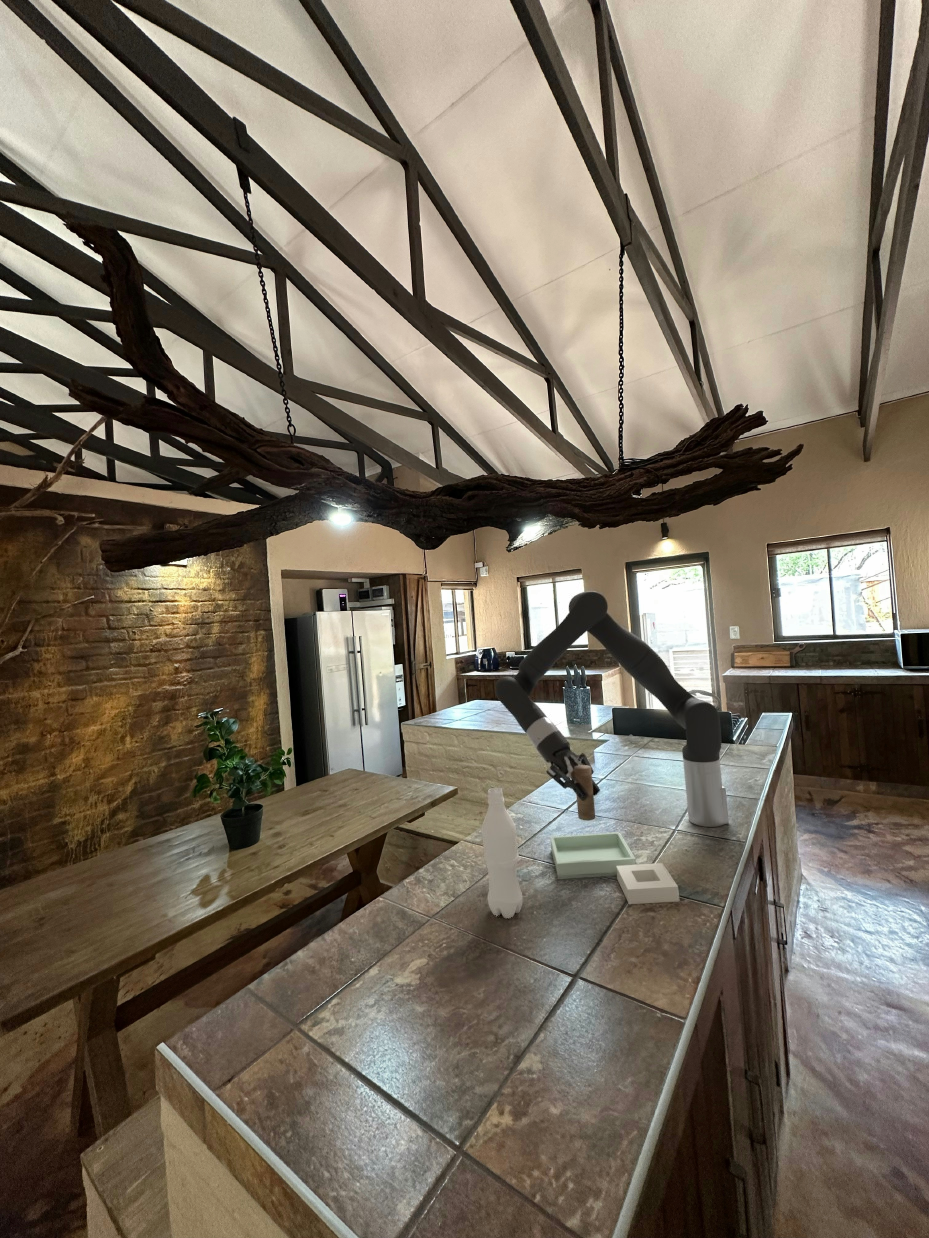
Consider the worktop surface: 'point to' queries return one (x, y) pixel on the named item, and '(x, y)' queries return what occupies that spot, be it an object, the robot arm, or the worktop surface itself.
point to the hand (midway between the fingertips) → (591, 795)
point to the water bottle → (501, 857)
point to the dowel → (585, 779)
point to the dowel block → (647, 883)
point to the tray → (590, 855)
